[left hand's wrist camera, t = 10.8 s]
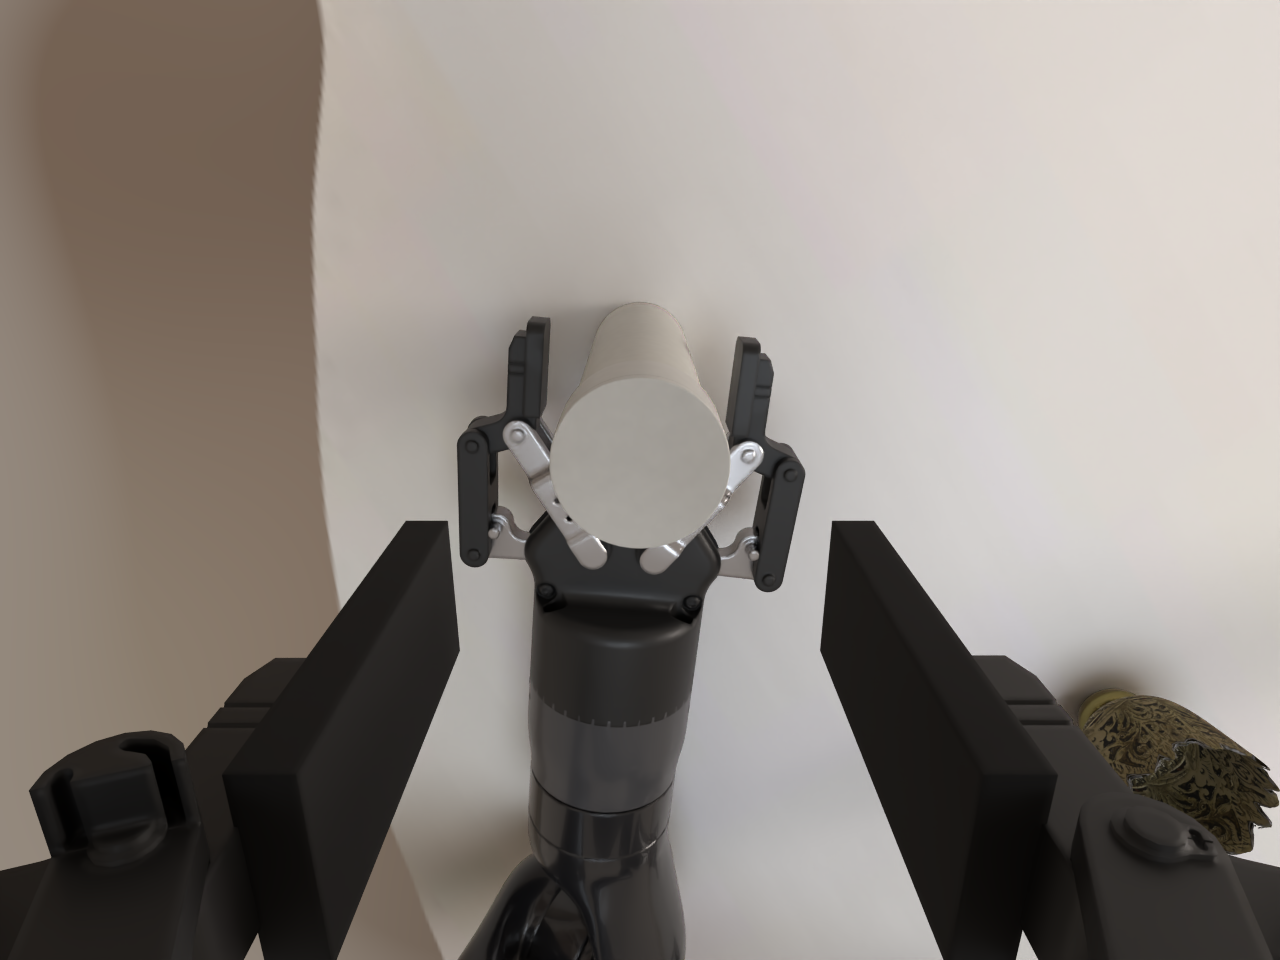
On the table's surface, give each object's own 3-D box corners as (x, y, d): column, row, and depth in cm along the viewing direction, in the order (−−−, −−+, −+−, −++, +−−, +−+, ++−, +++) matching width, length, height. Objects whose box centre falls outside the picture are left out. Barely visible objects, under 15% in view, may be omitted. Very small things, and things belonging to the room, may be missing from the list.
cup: (1173, 643, 42) (1288, 739, 35) (1170, 750, 45) (1277, 862, 37) (1035, 667, 43) (1119, 766, 35) (1040, 772, 45) (1119, 886, 38)
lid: (523, 444, 23) (511, 470, 21) (636, 324, 22) (636, 338, 20) (642, 546, 24) (643, 581, 22) (755, 438, 23) (768, 463, 21)
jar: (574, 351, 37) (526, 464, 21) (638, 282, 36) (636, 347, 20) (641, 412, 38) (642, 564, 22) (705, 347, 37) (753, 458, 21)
